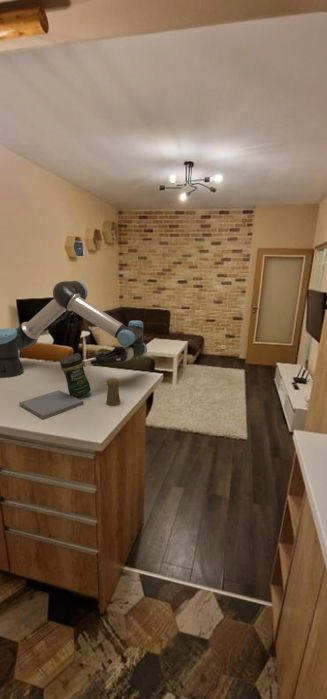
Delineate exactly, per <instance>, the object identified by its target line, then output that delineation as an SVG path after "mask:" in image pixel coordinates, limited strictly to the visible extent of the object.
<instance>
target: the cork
mask: <svg viewBox="0 0 327 699" xmlns="http://www.w3.org/2000/svg"><path fill="white" fill-rule="evenodd" d="M106 385H107V392H106V403H105V404H106V405H107V406H110V407H115V406H119V405H120V404H121V399H120V392H119V385H120V379H119V378H116V377H111V378H108V379H107V380H106Z"/></svg>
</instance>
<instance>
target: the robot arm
mask: <svg viewBox="0 0 327 699" xmlns="http://www.w3.org/2000/svg"><path fill="white" fill-rule="evenodd" d="M52 297H53V299H52V300H50V302H48V303H47V304H46V305H45V306H44V307H43V308H42V309H41V310H40V311H39V312H37V313H36V314H35V315H34V316H33V317H32V318H31V319H30V320H29V321H24V322H22V323H21V324H20V325H19V326H18V327H17V328H14V327H13V328H11V327H6V328H1V329H0V378H12V377H17V376H19V375H22V374H23V373H24V371H25V370H24V366H23V363H22V362H21V359H20V352H19V351H21V350H24V349H27V348H30V347H33V346H34V345H35V344H36V343H38V340H39V338H40V337H41V333H42V332H43V331H44V330H46V329H47V327H49V326H50V325H51V324H52V323H53V322H55V321H56V320H57V319H58V318H59V317H60V316H61V315H63V313H65V312H66V311H68V312H71V311H72V312H74V313H75V314H77V315H78V316H80V317H81V318H84V319H85V320H87V321H88V322H89V323H91V324H93V325H94V326H95V327H98V328H99V329H101V330H102V331H104V332H105V333H107V334H109V335H110V336H112V337H113V338H115V339H116V340H117V342H118V344H119V345H120V346H117V347H114V348H112V351H108V352H106V353H105V351H101V352H100V353H97V354H95V355H92V356H91V358H87V359H82V360H83V368H85V367H91V366H95V365H106V364H108V365H109V364H113V363H118V364H119V363H122V362H128V361H130V360H133V359H137V358H140V357H143V356H146V354H147V352H148V348H147V344H146V343H145V342H144V322H143V321H142V320H129V322H128V326H126V325H125V324H123V323H122V322H121V321H118V320H117V319H115V318H114V317H113V316H111V315H109V314H108V313H106V312H105V311H103V310H101V309H100V308H98V307H97V306H95V305H94V304H92V303H91V302H89V301H87V300H86V299H87V298H88V288H87V286H86V285H85V284H84V283H83V282H82V281H79V280H68V281H67V280H66V281H64V280H63V281H60V282H58V283H57V284H55V285H54V287H53V289H52Z"/></svg>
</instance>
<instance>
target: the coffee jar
mask: <svg viewBox="0 0 327 699" xmlns="http://www.w3.org/2000/svg"><path fill="white" fill-rule="evenodd" d="M83 360H84V359H83V358H82V356H81V354H80V353H78V352H76V353H73V354H70V355H67V356H65V357H61V358H59V363H60V364H59V365H60V368H61V370H62V372H63V374H64V375H65V376H64V377H65V380H66V384H67V385H66V386H67V389H68V390H67V392H68V394H69V395H71V396H73V397H75V398H79V397H81V396H84V395H87V394H89V393H90V392H91V390H92V387H91V385H90V381H89V379H88V377H87V375H86V372H85V367H84V366H83Z"/></svg>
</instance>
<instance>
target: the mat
mask: <svg viewBox="0 0 327 699" xmlns="http://www.w3.org/2000/svg"><path fill="white" fill-rule="evenodd" d="M84 403H85V402H84V400H83V399H80V398H79V397H73V396H71V395H70V394H69V393H66V392H64V391H62V390H60V389H59V390H56V391H52V392H50V393H45V394H43V395H39V396H37V397H36V396H35V397H32V398H29V399H26V400H23V401H20V402H19V404H18V405H19V407H20V408H23V409H24V410H26V411H28V412H30V413H31V414H33V415H34V416H37V417H38V418H39V419H42V420H46V419H48V418H51V417H54V416H56V415H59V414H61V413H64V412H66V411H70V410H73V409H75V408H77V407H81V406H83V405H84Z"/></svg>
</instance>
